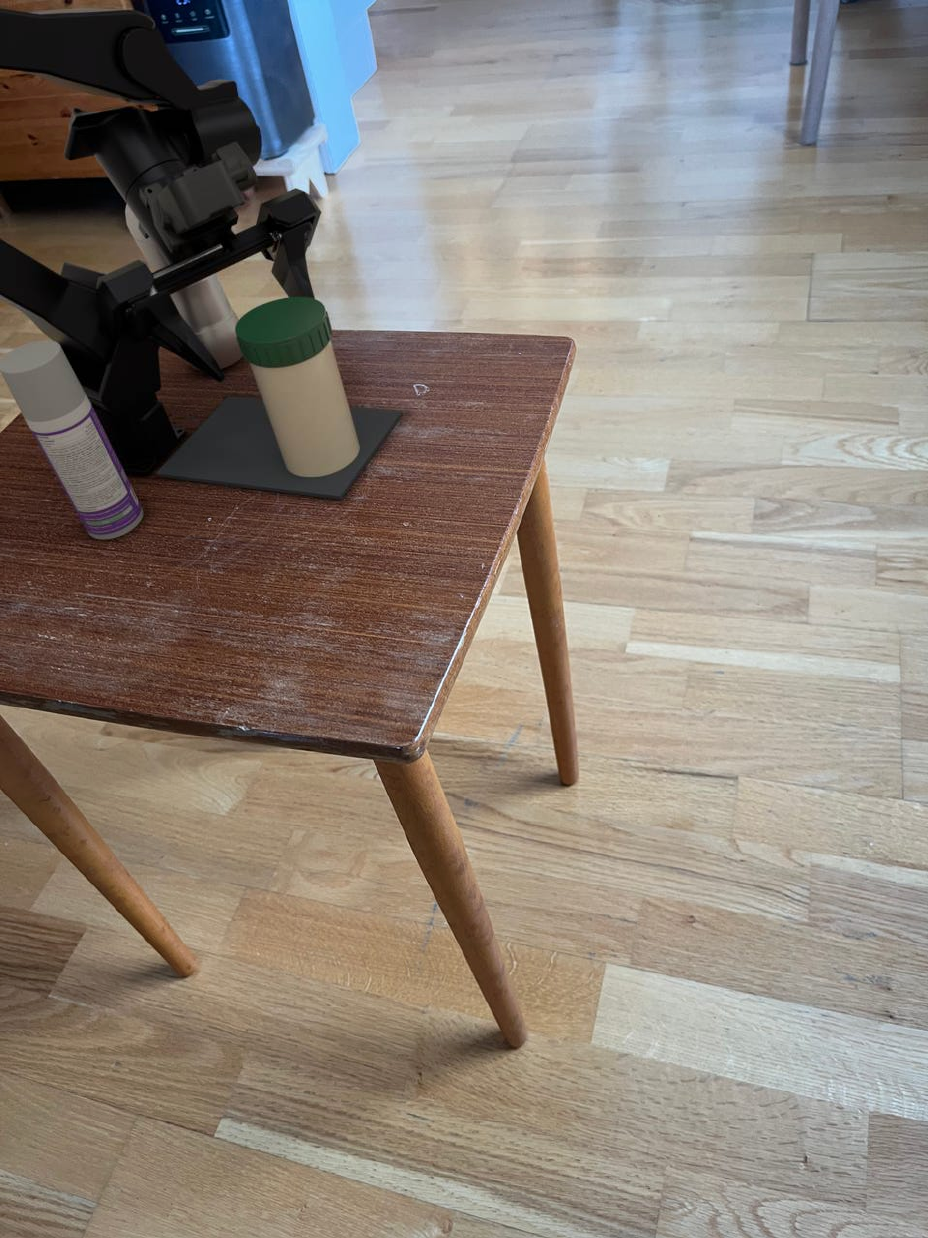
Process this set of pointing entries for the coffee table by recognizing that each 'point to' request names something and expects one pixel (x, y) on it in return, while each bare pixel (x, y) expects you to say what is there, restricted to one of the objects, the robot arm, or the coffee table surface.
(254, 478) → the mat
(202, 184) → the robot arm
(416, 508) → the coffee table surface
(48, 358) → the container
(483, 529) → the coffee table surface
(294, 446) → the jar
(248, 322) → the jar lid
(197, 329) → the silver metal bottle
